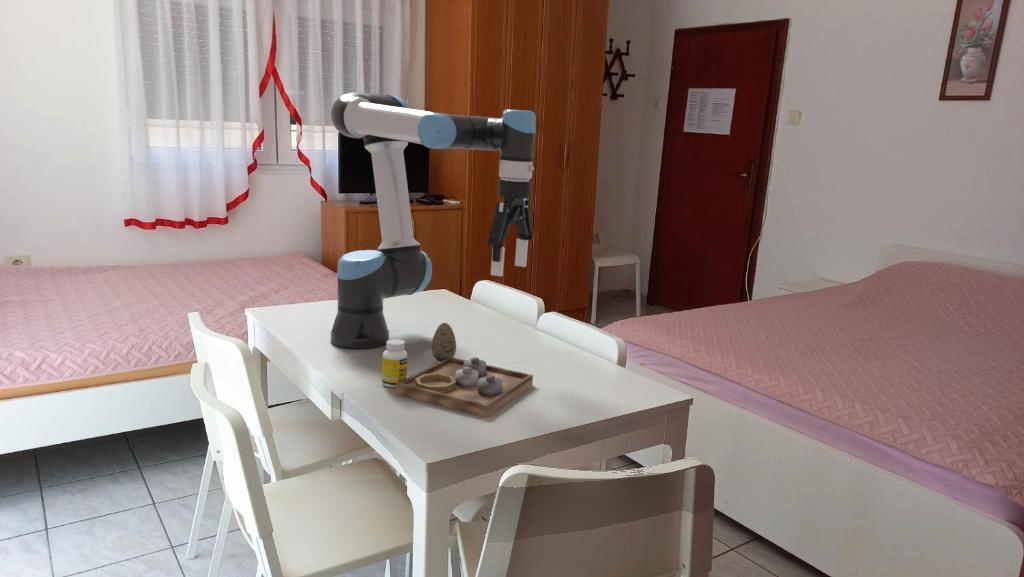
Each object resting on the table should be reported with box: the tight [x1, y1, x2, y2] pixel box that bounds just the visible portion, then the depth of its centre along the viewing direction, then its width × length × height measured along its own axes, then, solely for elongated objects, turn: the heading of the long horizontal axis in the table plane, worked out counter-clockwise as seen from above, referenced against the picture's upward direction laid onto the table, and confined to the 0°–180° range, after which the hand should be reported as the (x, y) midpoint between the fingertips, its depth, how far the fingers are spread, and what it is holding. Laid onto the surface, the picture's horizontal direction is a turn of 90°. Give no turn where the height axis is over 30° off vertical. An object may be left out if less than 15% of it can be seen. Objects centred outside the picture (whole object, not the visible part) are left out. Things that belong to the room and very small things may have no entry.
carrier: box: [395, 356, 534, 418], centre depth 154 cm, size 22×22×5 cm
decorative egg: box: [431, 322, 457, 362], centre depth 171 cm, size 6×6×10 cm
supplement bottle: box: [381, 338, 408, 389], centre depth 155 cm, size 5×5×10 cm
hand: (509, 270), depth 165 cm, fingers open, 13 cm apart
